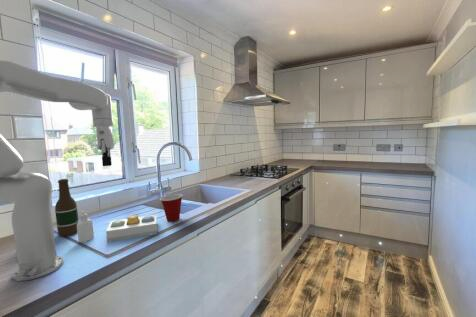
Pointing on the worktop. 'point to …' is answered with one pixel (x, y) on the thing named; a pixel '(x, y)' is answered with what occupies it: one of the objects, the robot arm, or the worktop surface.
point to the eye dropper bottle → (85, 228)
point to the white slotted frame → (131, 229)
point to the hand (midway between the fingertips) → (107, 165)
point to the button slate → (147, 219)
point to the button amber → (133, 220)
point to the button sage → (117, 223)
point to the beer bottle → (66, 211)
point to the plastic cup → (172, 206)
